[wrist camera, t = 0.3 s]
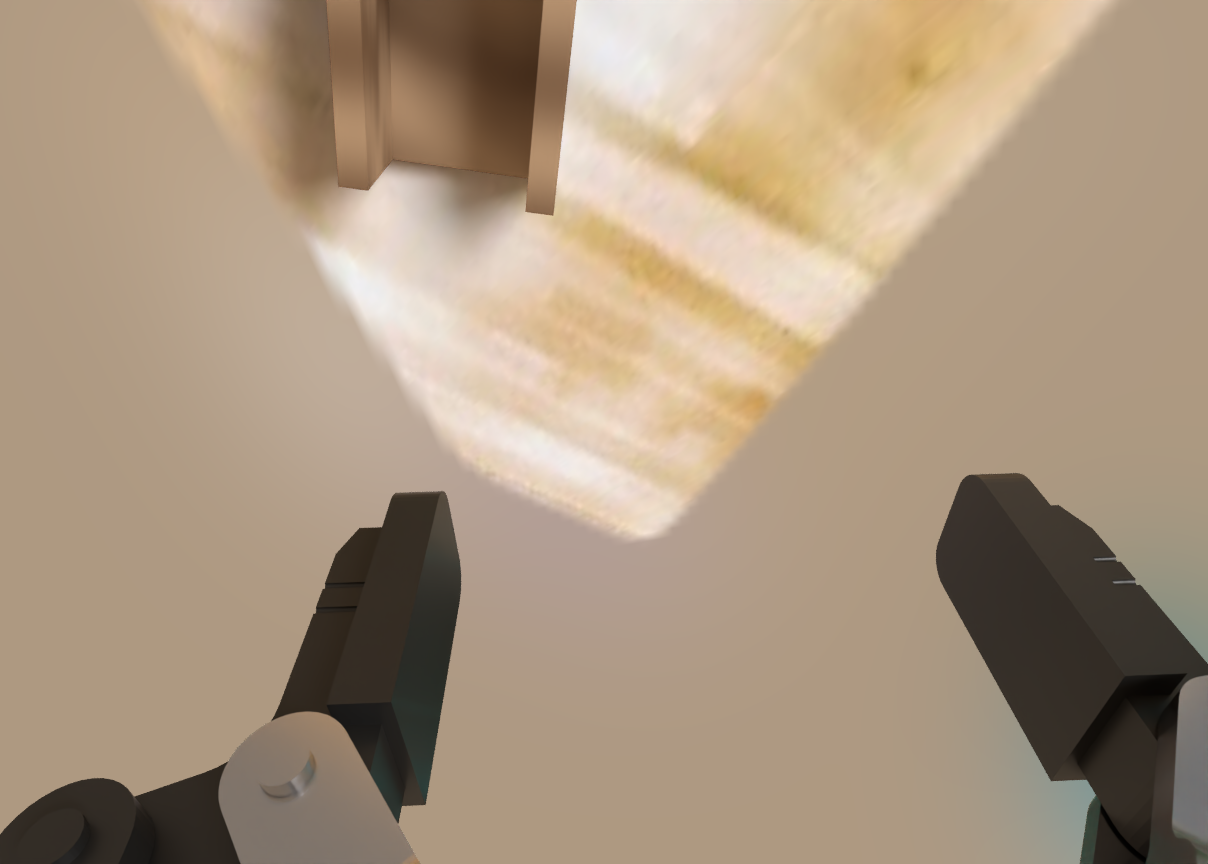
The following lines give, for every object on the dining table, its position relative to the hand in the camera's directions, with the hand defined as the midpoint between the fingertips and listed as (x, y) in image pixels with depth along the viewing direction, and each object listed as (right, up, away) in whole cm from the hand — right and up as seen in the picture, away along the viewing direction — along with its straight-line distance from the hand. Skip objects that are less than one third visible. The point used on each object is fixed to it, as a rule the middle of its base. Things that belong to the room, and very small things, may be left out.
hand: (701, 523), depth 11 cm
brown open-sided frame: (-8, +19, +20) cm, 29 cm away
